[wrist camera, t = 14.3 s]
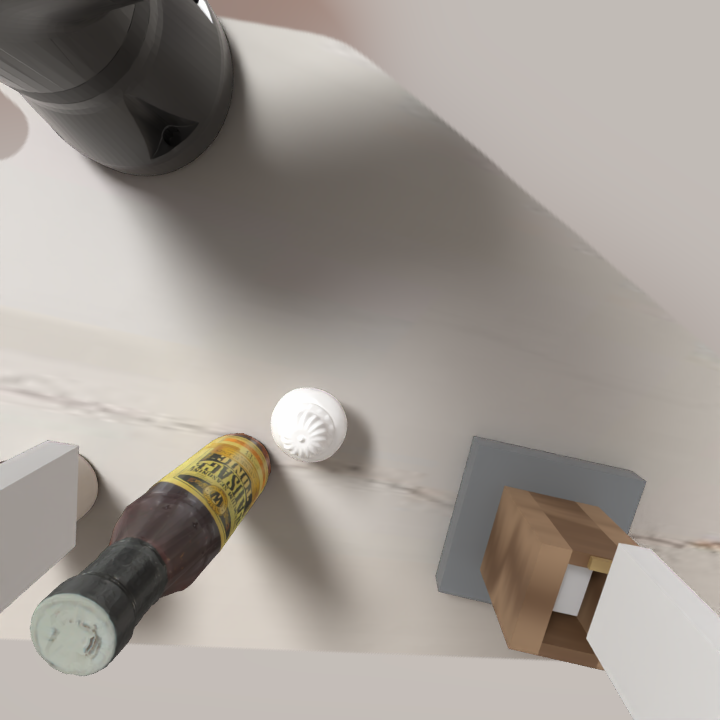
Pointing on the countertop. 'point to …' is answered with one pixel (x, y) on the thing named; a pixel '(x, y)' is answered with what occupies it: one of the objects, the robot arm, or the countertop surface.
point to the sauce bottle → (151, 554)
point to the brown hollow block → (547, 571)
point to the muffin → (309, 424)
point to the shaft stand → (535, 474)
